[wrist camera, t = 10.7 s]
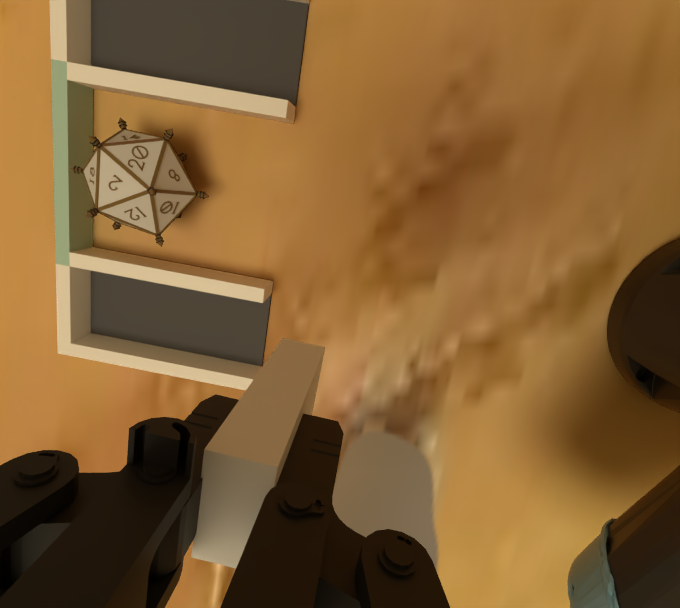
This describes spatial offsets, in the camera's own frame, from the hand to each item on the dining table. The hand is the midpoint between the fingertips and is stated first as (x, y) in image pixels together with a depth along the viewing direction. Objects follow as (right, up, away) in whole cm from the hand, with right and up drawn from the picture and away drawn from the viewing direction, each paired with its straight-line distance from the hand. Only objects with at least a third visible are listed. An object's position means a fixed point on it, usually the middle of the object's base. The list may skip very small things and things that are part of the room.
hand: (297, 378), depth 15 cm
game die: (-13, +13, +21) cm, 28 cm away
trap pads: (-11, +12, +21) cm, 27 cm away
